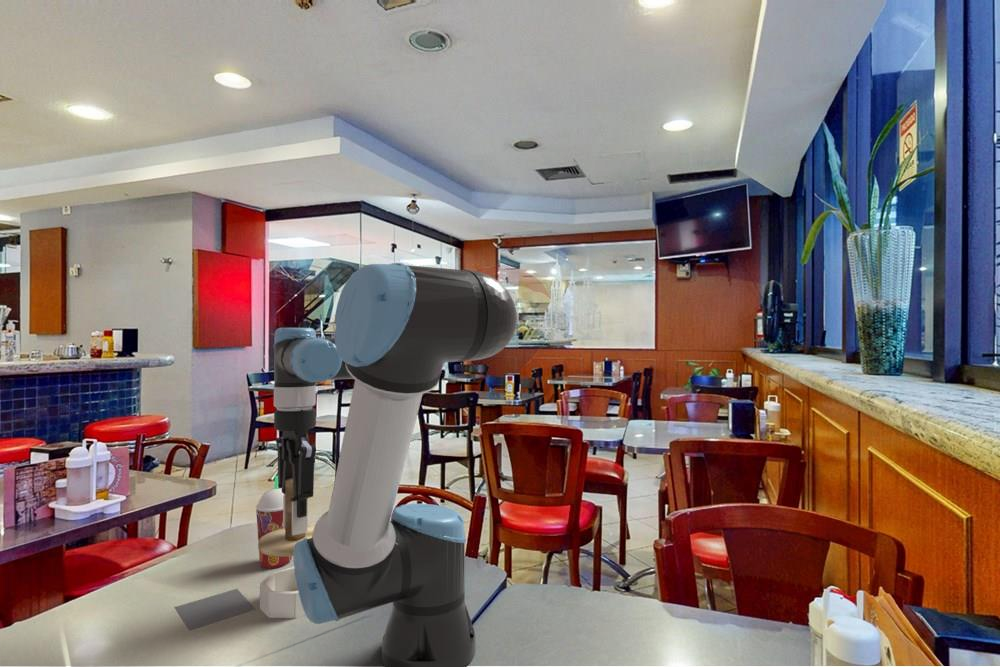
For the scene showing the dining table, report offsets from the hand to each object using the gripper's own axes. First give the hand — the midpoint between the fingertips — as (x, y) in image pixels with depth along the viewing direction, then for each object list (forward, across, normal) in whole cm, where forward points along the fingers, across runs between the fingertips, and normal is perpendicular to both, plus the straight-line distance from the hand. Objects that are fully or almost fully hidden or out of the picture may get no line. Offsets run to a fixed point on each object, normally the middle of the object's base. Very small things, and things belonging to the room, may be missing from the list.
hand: (295, 529), depth 104 cm
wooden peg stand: (+2, 0, 0) cm, 2 cm away
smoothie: (+15, +21, -4) cm, 26 cm away
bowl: (+14, 0, 0) cm, 14 cm away
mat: (+14, +8, +12) cm, 20 cm away
